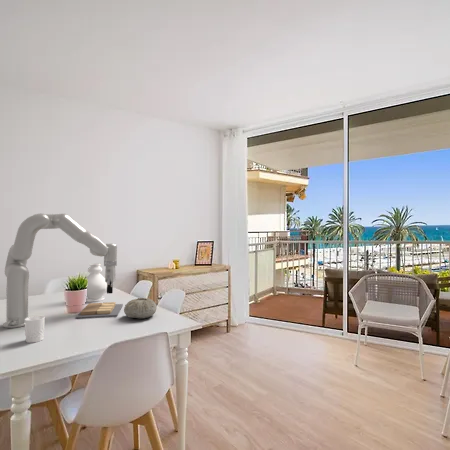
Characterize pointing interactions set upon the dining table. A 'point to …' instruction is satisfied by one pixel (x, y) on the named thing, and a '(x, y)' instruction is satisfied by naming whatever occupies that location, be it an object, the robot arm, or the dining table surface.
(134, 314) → the decorative shell
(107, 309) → the board
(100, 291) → the decorative vase
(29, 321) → the white cup
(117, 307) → the floor board
